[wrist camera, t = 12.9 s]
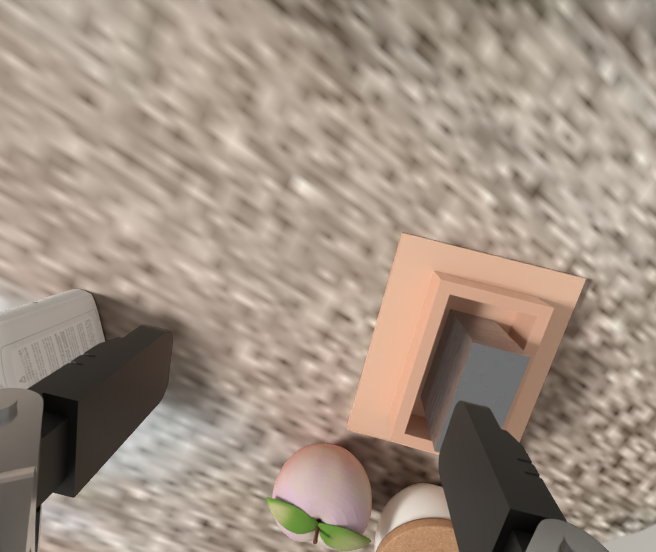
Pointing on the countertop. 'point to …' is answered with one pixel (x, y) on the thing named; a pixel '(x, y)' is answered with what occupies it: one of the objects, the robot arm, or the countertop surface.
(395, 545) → the lidded jar
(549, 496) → the robot arm
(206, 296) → the countertop surface
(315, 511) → the decorative fruit
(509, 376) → the grey rectangular block
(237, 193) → the countertop surface
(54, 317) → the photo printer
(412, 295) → the caddy
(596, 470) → the countertop surface
